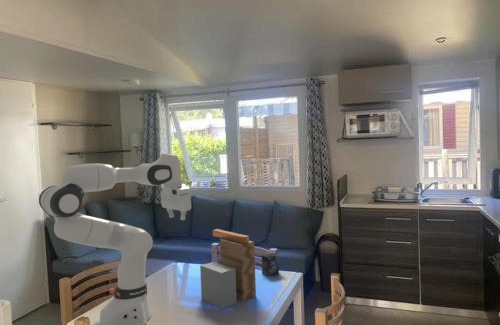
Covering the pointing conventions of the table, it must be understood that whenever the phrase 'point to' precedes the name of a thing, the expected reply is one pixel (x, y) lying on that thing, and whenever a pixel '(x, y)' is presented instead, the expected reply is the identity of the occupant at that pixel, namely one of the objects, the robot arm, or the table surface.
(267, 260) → the box
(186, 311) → the table surface
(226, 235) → the bar
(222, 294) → the low plinth
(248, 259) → the tall plinth
